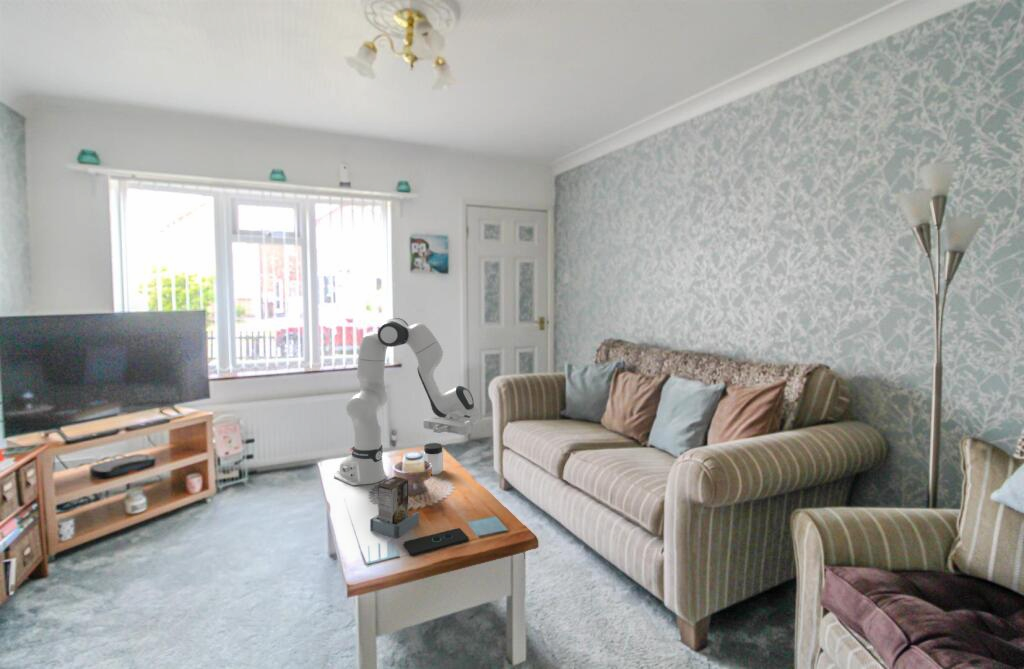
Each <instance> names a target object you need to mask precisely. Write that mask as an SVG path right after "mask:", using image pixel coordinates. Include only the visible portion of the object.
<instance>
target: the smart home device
mask: <svg viewBox="0 0 1024 669" xmlns="http://www.w3.org/2000/svg"><path fill="white" fill-rule="evenodd" d="M469 541H470V537H469V536H468V535H467V534H466V533H465V532H464V530H462V529H461V528H460V527H457V528H456V527H455V528H452V529H448V530H444V531H441V532H437V533H433V534H430V535H429V534H428V535H426V536H421V537H417V538H413V539H409V540H405V541H403V547H404V549H405V550H406V552H407V553H408V555H409V556H410V557H417V556H421V555H423V554H427V553H432V552H434V551H438V550H443V549H446V548H450V547H454V546H457V545H460V544H464V543H467V542H469Z"/></svg>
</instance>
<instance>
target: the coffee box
mask: <svg viewBox="0 0 1024 669" xmlns="http://www.w3.org/2000/svg"><path fill="white" fill-rule="evenodd" d="M377 490H378V491H377V497H378V498H377V499H378V500H377V501H378V505H377V506H378V507H377V508H378V510H377V512H378V514H377V515H378V518H379V520H382V521H385V522H388V523H392V524H395V525H397V524H398V523H400V522H401V521H403V520H404V519H406V518H407V517H409V479H405V478H403V477H400V476H392V477H390V478H388V479H387V480H386V481H383V482H382V483H380V484H378V485H377Z"/></svg>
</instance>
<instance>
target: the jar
mask: <svg viewBox="0 0 1024 669" xmlns="http://www.w3.org/2000/svg"><path fill="white" fill-rule="evenodd" d="M423 446H424V450H423V452H422V453H423V455H422V457H423V458H422V460H423V459H425V460H426V461H428V462H429V463H431V465H432V475H433V476H434V475H439V474H441V473H443V471H444V451H443V445H442V444H441V443H437V442H430V443H426V444H425V445H423Z"/></svg>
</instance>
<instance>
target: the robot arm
mask: <svg viewBox="0 0 1024 669" xmlns="http://www.w3.org/2000/svg"><path fill="white" fill-rule="evenodd" d="M405 344H406V345H408V346H409V347H410V348H411V350H412V352H413V354H414V355H415V357H416V360H417V363H418V364H417V374H418V377H419V379H420V381H421V384H422V386H423V389H424V391H425V393H426V395H427V397H428V400H429V404H430V406H431V407H430V408H431V410H432V413H433V414H434V415H435V416H430V417H427V418H425V419H423V428H424V429H427V430H432V431H433V432H432V433H438V434H441V433H448V434H455V435H461V436H467V435H470V434H472V433H474V425H476V424H477V423H478V422H479V421H480V419H481V416H482V414H481V413H482V410H481V409H480V407H479V406H478V405H476V404H475V403H474V398H473V395H472V393H471V391H470V390H469V389H468V388H466V387H464V386H463V385H458V386H456V387H453V388H451V389H450V390H448V391H446V392H443V393H441V392H440V390H439V387H438V385H437V382H436V380H435V378H434V373H435V370H436V369H437V367H438V366H439V364H440V363H441V361H442V359H443V356H444V355H443V354H444V351H443V349H442V347H441V344H440V343H439V341H438V339H437V338H436V337H435V335H434V334H433V332H432V331H431V329H430V328H428V326H427V324H424V323H422V322H416V323H413V324H412V325H408V323H407V322H406V320H404V319H402V318H399V317H394V318H390V319H388V320H386V321H384V322H383V323H382V324H381V325H380V326H379V327H378V329H377V332H371V331H370V332H367V333H365V334H364V335H363V337H362V338H361V342H360V346H359V351H358V356H357V368H356V369H357V370H356V377H357V378H358V380H359V385H360V386H359V387H360V388H359V389H360V390H359V392H358V393H357V394H354V395H353V396H352V397H351V398H350V399H349V401H348V402H347V404H346V413H347V415H348V416H349V418H350V419H351V421H352V425H353V428H354V446H353V447H350V448H349V452H351V451H352V452H351V454H350V455H349V456H347V457H346V458H345V459H343V461H342V462H341V463H340V466H339V470H338V471H337V472H335V473H334V474H333V478H334V479H336V480H339V481H341V482H344V483H346V484H349V485H350V486H360V485H371V484H376V483H379V482H381V481H383V480H384V479H385V478H386V473H385V469H384V468H385V467H384V462H383V453H384V452H383V445H382V427H381V426H380V424H379V421H378V417H377V414H378V412H379V411H381V410H382V409H383V408H384V406H385V405H386V404H387V402H388V393H387V392H386V387H385V365H386V354H387V349H388V347H390V348H392V347H398V346H401V345H405Z"/></svg>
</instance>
